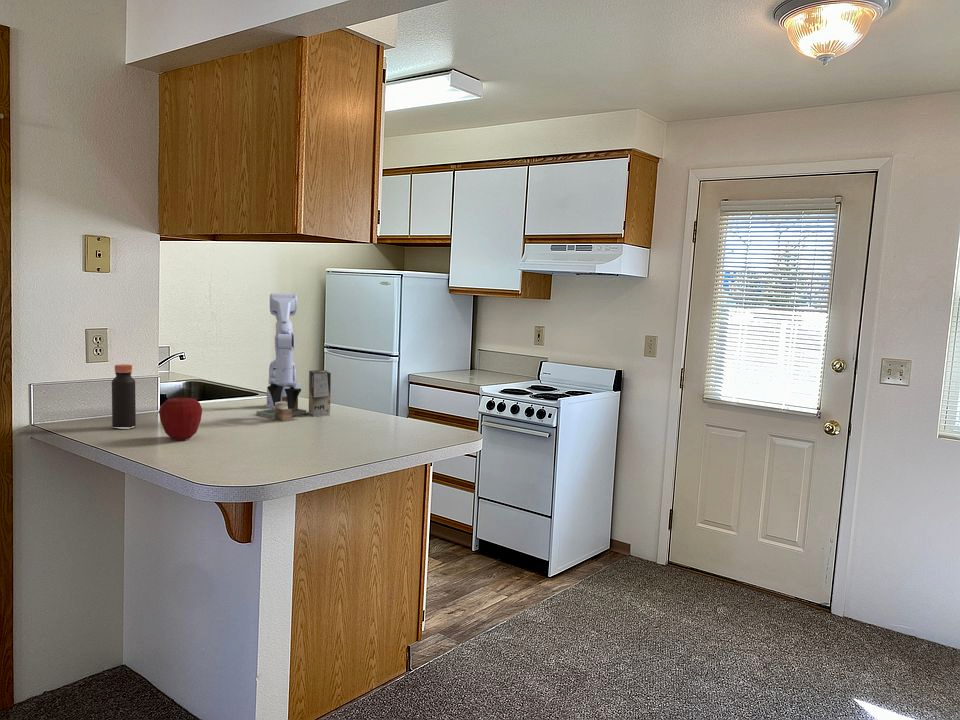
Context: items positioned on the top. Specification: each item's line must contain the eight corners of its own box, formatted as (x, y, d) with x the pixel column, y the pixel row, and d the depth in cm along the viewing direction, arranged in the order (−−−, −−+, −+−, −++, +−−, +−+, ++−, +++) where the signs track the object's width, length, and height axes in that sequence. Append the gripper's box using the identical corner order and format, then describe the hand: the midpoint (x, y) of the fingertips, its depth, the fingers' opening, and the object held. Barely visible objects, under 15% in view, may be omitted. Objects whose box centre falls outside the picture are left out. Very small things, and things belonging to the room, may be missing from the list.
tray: (256, 415, 262) (256, 411, 262) (288, 411, 273) (288, 406, 273) (274, 419, 256) (274, 414, 256) (306, 414, 268) (306, 410, 267)
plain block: (281, 412, 267) (282, 396, 267) (290, 411, 271) (290, 395, 270) (289, 414, 265) (289, 397, 264) (297, 412, 268) (297, 396, 268)
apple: (203, 434, 227) (203, 391, 226) (201, 442, 216) (201, 397, 215) (161, 435, 224) (160, 392, 222) (157, 443, 213) (156, 398, 211)
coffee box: (330, 416, 265) (331, 372, 263) (313, 417, 262) (313, 373, 261) (325, 412, 273) (325, 369, 272) (307, 413, 271) (308, 370, 269)
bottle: (110, 429, 229) (109, 366, 227) (114, 425, 236) (113, 364, 234) (134, 429, 231) (133, 366, 229) (137, 425, 238) (136, 364, 236)
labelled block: (274, 419, 254) (275, 402, 253) (284, 418, 257) (284, 401, 256) (282, 421, 251) (282, 403, 251) (291, 419, 255) (291, 402, 254)
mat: (269, 420, 254) (269, 419, 254) (285, 418, 259) (285, 416, 259) (282, 423, 250) (282, 422, 250) (298, 420, 255) (298, 419, 255)
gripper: (261, 367, 254) (261, 405, 255) (288, 371, 245) (288, 411, 247) (277, 365, 259) (277, 403, 261) (305, 369, 251) (304, 408, 252)
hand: (283, 407), depth 254 cm, fingers open, 7 cm apart
